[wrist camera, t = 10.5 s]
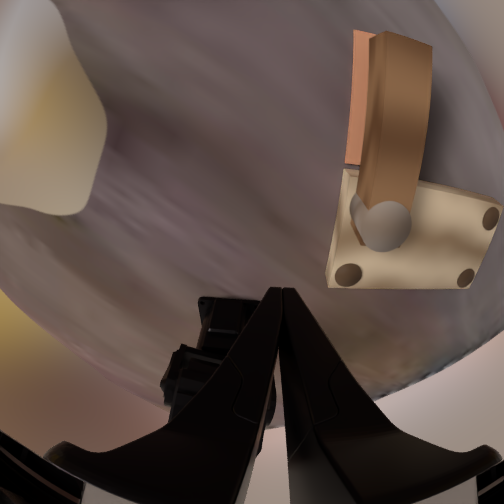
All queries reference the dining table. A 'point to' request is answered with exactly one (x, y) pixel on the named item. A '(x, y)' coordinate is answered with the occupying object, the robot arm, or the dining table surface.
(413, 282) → the birch seat
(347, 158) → the marker strip
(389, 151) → the walnut leg
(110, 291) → the dining table surface
